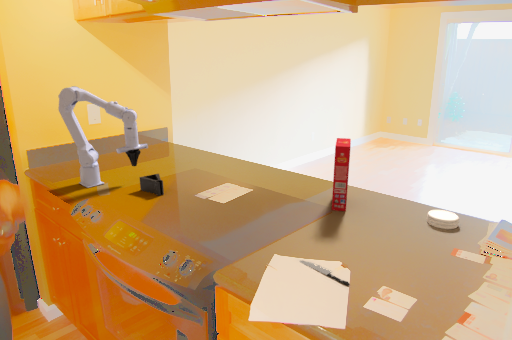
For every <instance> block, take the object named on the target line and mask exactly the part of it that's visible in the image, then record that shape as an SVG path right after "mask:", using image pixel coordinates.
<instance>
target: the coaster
mask: <svg viewBox="0 0 512 340" xmlns="http://www.w3.org/2000/svg"><path fill="white" fill-rule="evenodd" d="M459 220H460V217H459V215H457V214H456V213H455V212H452V211H450V210H446V209H445V210H444V209H431V210H429V211H428V212H427V216H426V223H427V224H428V225H430V226H431V227H434V228H437V229H441V230H453V229H457V227H458V226H459V223H460V221H459Z"/></svg>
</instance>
